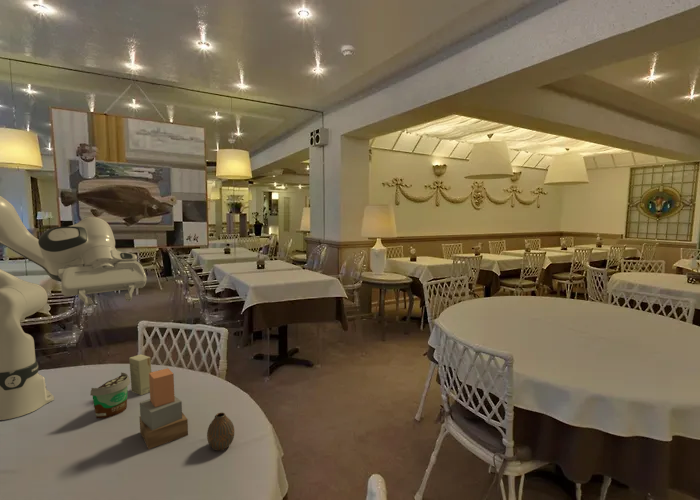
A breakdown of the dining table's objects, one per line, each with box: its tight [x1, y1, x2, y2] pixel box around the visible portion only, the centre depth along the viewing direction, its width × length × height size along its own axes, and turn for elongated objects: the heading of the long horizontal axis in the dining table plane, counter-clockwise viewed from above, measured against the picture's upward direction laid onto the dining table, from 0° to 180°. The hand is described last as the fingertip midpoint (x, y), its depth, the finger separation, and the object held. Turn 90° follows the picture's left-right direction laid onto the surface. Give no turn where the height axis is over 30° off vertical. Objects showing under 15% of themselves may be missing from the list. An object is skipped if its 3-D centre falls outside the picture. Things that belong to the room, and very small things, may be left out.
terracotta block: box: [149, 367, 176, 407], centre depth 105 cm, size 5×5×8 cm
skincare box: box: [128, 353, 152, 396], centre depth 131 cm, size 6×4×12 cm
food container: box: [90, 372, 131, 419], centre depth 118 cm, size 12×6×10 cm, turn 168°
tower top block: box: [139, 395, 183, 430], centre depth 106 cm, size 8×8×5 cm
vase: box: [206, 412, 235, 451], centre depth 101 cm, size 7×7×9 cm
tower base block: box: [138, 412, 189, 450], centre depth 107 cm, size 10×10×5 cm
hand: (109, 302), depth 104 cm, fingers open, 8 cm apart
